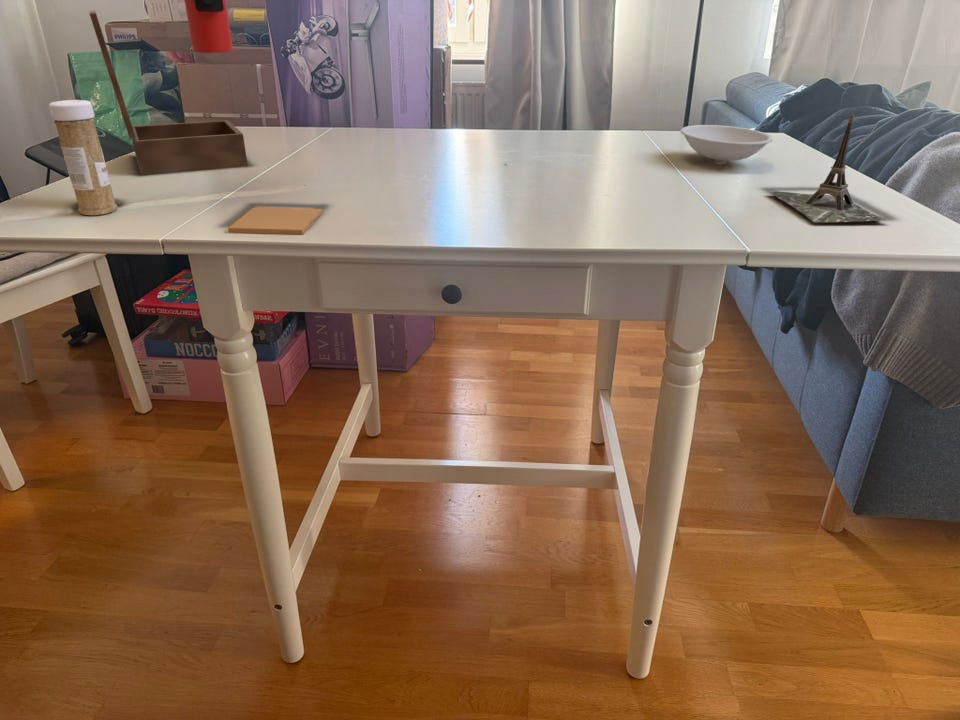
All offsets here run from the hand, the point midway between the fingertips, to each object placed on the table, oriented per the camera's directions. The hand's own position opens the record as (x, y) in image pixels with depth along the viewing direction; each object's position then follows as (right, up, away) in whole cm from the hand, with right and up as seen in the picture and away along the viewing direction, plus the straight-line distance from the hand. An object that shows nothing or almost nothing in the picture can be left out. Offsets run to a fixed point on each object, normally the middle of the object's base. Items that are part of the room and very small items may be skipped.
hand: (206, 9), depth 84 cm
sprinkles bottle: (-15, -25, +4) cm, 29 cm away
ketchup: (0, -4, +2) cm, 5 cm away
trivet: (+9, -27, 0) cm, 28 cm away
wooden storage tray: (-13, -12, +27) cm, 32 cm away
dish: (+76, -9, +34) cm, 84 cm away
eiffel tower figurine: (+81, -23, +9) cm, 85 cm away
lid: (-20, -1, +17) cm, 26 cm away
